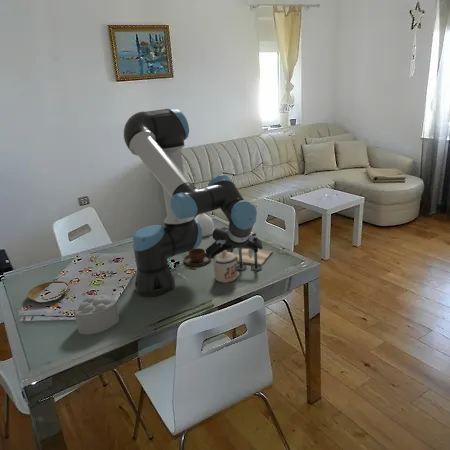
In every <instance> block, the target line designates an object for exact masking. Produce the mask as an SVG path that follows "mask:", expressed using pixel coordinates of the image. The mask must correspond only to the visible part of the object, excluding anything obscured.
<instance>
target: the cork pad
mask: <svg viewBox="0 0 450 450" xmlns="http://www.w3.org/2000/svg"><path fill="white" fill-rule="evenodd" d="M248 251H249V249H242V263H243V264H242V265H249V264H250V266H253V265H255V261H254V253H253V256H252V258H249V253H248ZM272 254H273V251H272V250H264V249H258V252H257V261H258V265H260V266H261V267H262V266H263V265H264V264H265V262H266V261H267V260H268V259H269V258H270V256H271V255H272ZM235 255H236V256H237V257H238V263H237V264H239V251H238V252H236V253H235ZM267 258H268V259H267ZM266 259H267V260H266Z"/></svg>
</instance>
